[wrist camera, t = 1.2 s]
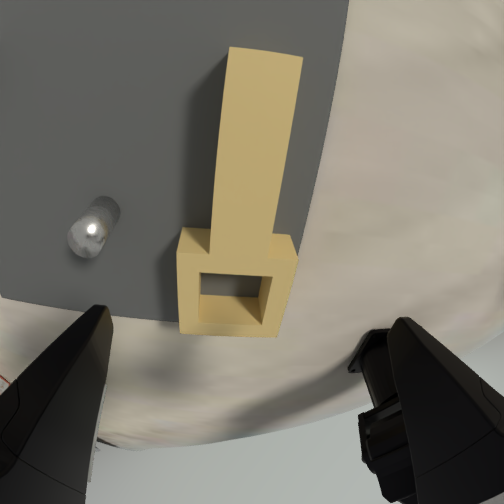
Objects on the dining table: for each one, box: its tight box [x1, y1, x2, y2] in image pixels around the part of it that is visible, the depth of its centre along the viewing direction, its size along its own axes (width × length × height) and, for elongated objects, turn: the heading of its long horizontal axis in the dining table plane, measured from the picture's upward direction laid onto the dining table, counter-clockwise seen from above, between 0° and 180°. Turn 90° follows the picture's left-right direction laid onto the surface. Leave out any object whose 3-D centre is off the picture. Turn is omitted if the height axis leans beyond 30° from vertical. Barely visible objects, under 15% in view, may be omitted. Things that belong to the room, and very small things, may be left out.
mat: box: [0, 0, 349, 322], centre depth 14 cm, size 24×25×1 cm
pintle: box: [67, 196, 120, 258], centre depth 15 cm, size 2×2×3 cm
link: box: [176, 47, 303, 337], centre depth 15 cm, size 16×6×3 cm, turn 173°
